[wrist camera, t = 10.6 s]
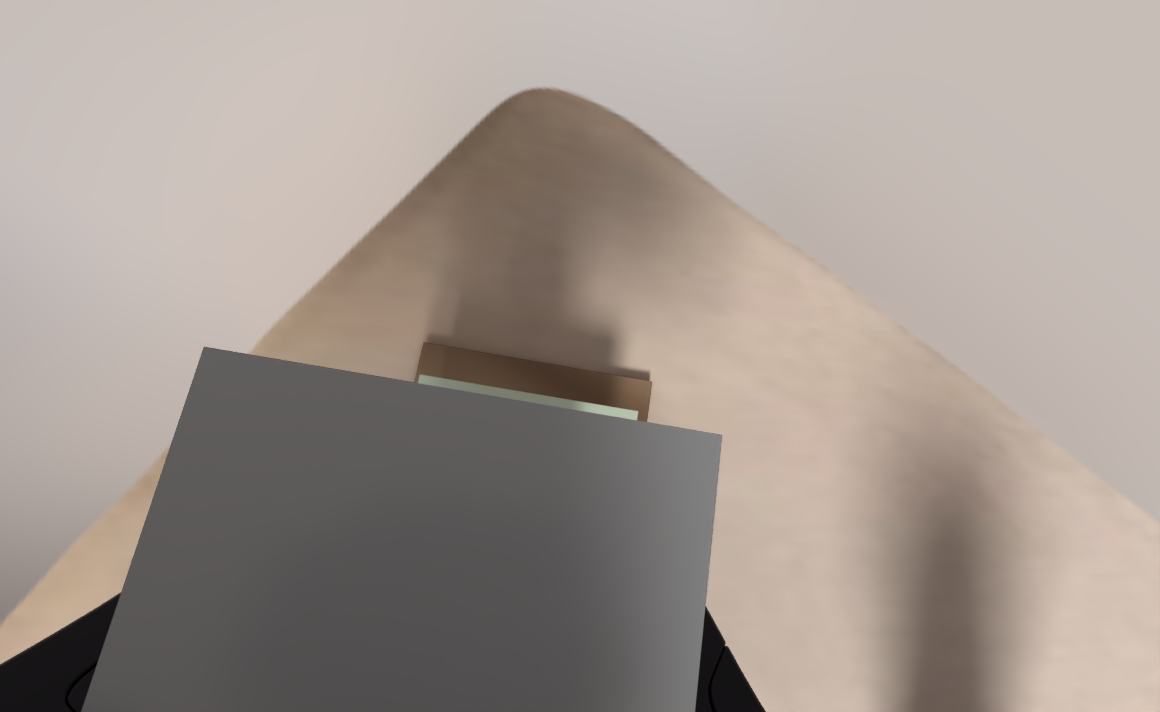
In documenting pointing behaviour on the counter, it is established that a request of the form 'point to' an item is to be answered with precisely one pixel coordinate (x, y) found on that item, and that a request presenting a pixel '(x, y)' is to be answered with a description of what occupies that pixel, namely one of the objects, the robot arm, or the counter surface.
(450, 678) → the grey rectangular block
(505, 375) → the frame
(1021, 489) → the counter surface
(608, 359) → the counter surface
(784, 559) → the counter surface
